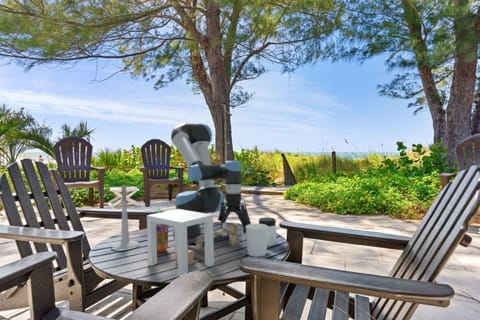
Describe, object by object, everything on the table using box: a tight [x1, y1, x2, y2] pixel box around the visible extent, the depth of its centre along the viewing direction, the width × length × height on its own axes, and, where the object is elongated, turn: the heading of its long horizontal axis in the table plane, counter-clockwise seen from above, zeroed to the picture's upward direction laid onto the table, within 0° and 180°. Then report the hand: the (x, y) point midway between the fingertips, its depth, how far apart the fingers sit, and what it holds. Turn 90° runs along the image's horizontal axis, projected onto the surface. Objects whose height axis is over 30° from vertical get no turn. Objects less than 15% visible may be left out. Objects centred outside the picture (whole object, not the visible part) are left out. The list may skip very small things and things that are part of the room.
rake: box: [187, 222, 240, 262], centre depth 136 cm, size 26×12×10 cm, turn 141°
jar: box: [258, 216, 277, 247], centre depth 145 cm, size 9×8×12 cm
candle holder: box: [246, 223, 268, 258], centre depth 131 cm, size 10×10×12 cm
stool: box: [146, 208, 215, 277], centre depth 119 cm, size 21×16×20 cm
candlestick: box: [111, 184, 140, 249], centre depth 143 cm, size 13×13×30 cm
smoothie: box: [156, 207, 170, 254], centre depth 136 cm, size 8×8×20 cm
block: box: [175, 248, 195, 266], centre depth 121 cm, size 5×5×5 cm
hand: (234, 237), depth 145 cm, fingers open, 11 cm apart
